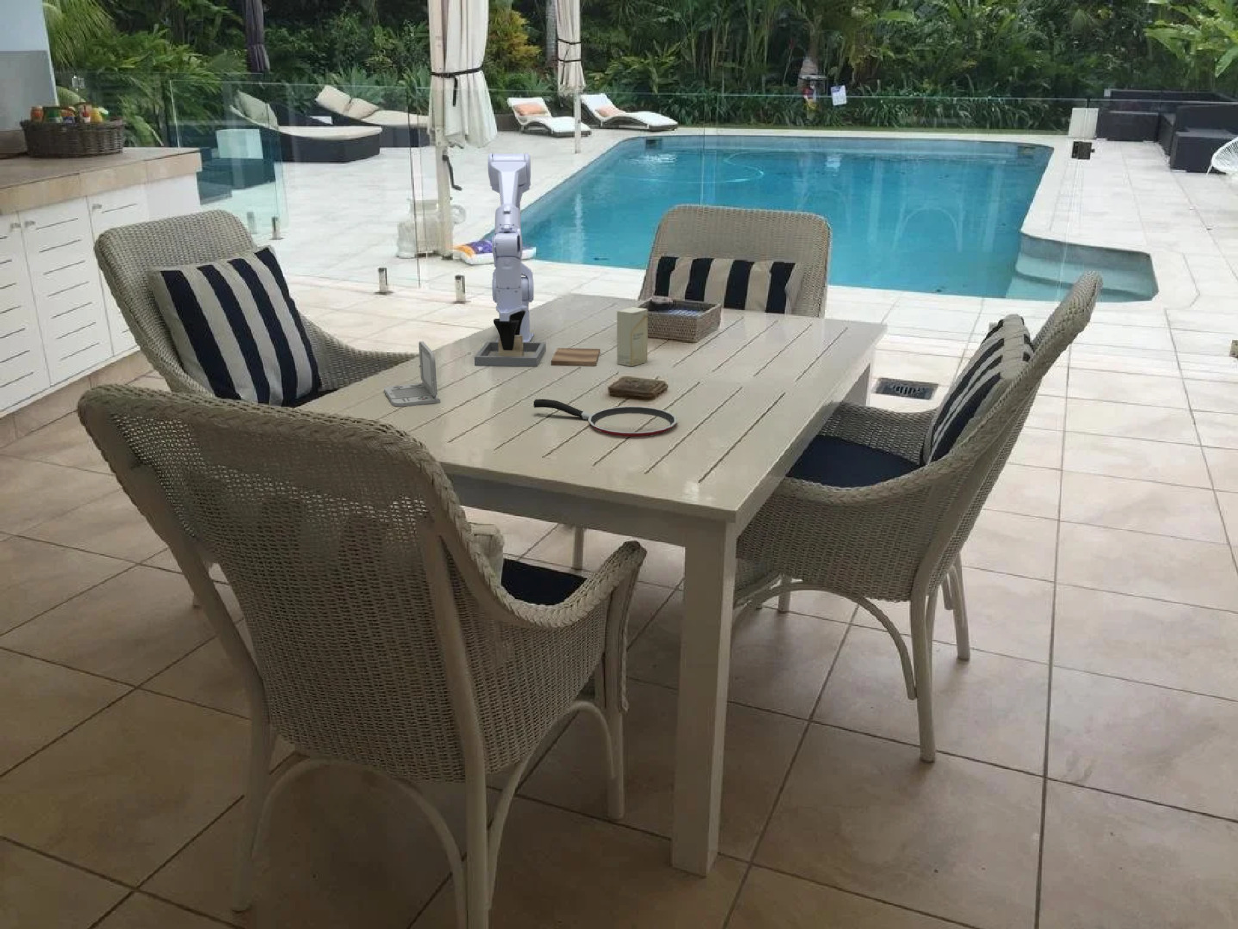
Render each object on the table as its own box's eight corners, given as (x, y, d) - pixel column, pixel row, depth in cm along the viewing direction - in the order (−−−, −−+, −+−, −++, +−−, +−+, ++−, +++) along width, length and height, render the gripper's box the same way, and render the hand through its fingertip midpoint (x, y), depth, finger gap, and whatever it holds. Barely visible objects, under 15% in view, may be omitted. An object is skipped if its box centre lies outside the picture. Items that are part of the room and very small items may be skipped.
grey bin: (487, 349, 250) (486, 341, 249) (545, 350, 249) (545, 342, 248) (474, 365, 236) (474, 356, 235) (536, 366, 235) (536, 357, 234)
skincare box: (631, 367, 235) (632, 313, 231) (615, 364, 237) (615, 310, 233) (648, 361, 240) (648, 308, 235) (632, 358, 242) (632, 306, 238)
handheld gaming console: (383, 390, 217) (379, 343, 214) (427, 386, 220) (424, 339, 217) (394, 408, 206) (390, 358, 202) (440, 403, 209) (437, 354, 205)
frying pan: (516, 428, 194) (516, 411, 193) (550, 404, 209) (549, 387, 208) (662, 444, 186) (662, 426, 185) (686, 417, 201) (687, 400, 199)
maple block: (501, 355, 245) (501, 334, 243) (523, 356, 244) (522, 334, 243) (498, 360, 241) (498, 338, 239) (520, 360, 241) (520, 338, 239)
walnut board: (557, 352, 248) (557, 348, 247) (600, 353, 247) (600, 348, 247) (551, 365, 236) (551, 360, 236) (595, 366, 236) (595, 361, 235)
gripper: (521, 292, 230) (523, 353, 234) (531, 281, 243) (532, 339, 248) (489, 292, 230) (491, 353, 235) (500, 281, 244) (503, 338, 249)
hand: (510, 346), depth 242 cm, fingers open, 7 cm apart
